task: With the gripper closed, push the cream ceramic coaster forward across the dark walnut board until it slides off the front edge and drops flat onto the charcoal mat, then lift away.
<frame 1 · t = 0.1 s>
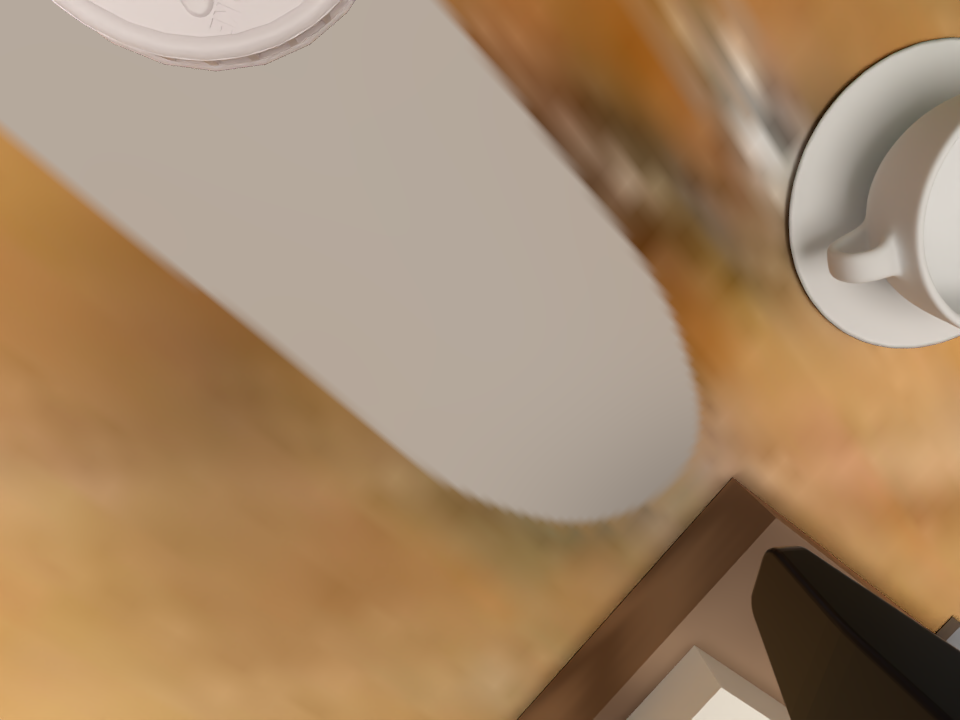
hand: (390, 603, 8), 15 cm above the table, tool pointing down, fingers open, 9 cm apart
teacup: (917, 200, 25), on the table
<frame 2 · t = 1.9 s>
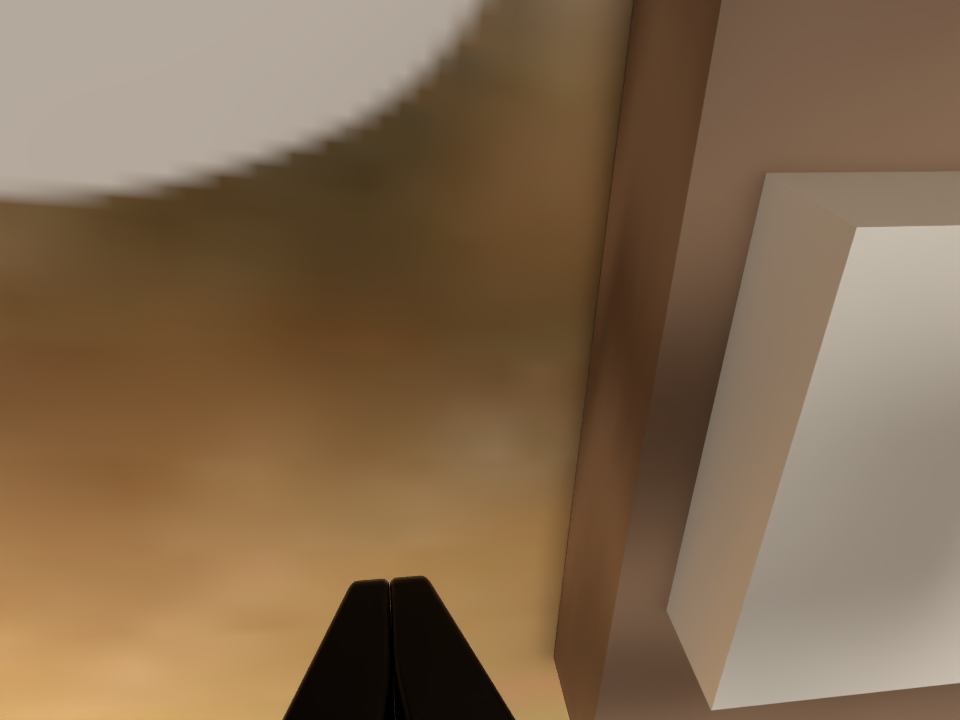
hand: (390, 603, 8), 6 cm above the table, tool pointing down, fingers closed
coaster: (942, 416, 12), point 3 cm above the table, touching walnut board
walnut board: (886, 328, 15), on the table
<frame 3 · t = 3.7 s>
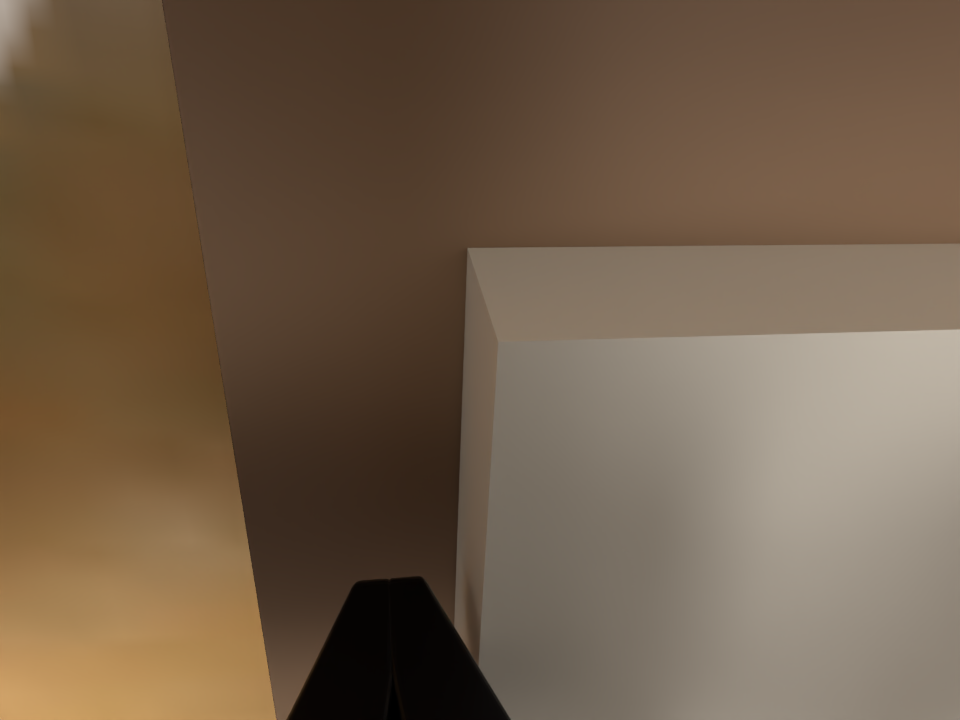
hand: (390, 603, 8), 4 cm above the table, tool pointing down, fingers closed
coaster: (752, 525, 10), point 3 cm above the table, touching walnut board
walnut board: (642, 398, 12), on the table
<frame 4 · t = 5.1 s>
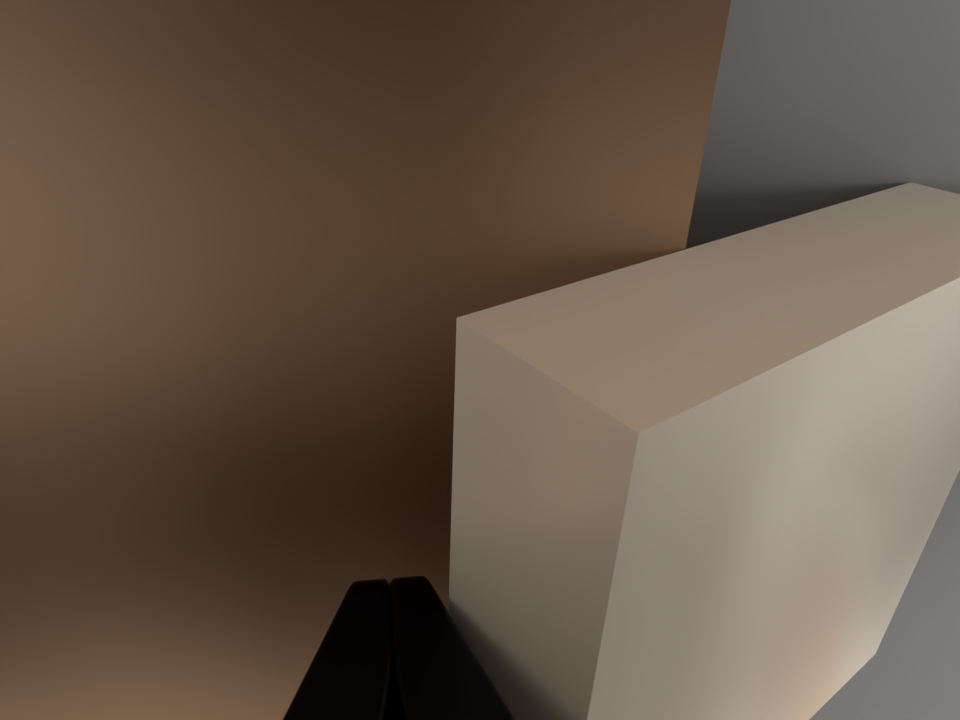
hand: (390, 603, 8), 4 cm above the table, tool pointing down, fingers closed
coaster: (681, 505, 10), point 3 cm above the table, tilted 30°, touching charcoal mat, gripper, walnut board
charcoal mat: (932, 384, 13), on the table
walnut board: (202, 417, 11), on the table
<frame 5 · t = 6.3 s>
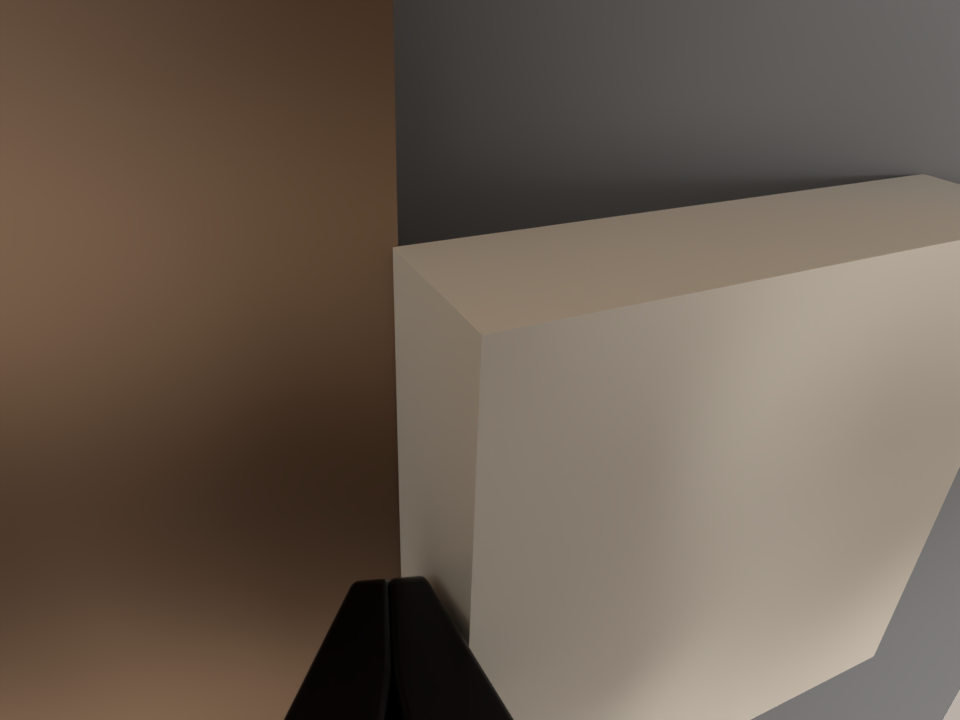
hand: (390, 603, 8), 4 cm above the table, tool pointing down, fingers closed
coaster: (654, 467, 11), point 2 cm above the table, tilted 18°, touching charcoal mat, gripper
charcoal mat: (773, 391, 13), on the table
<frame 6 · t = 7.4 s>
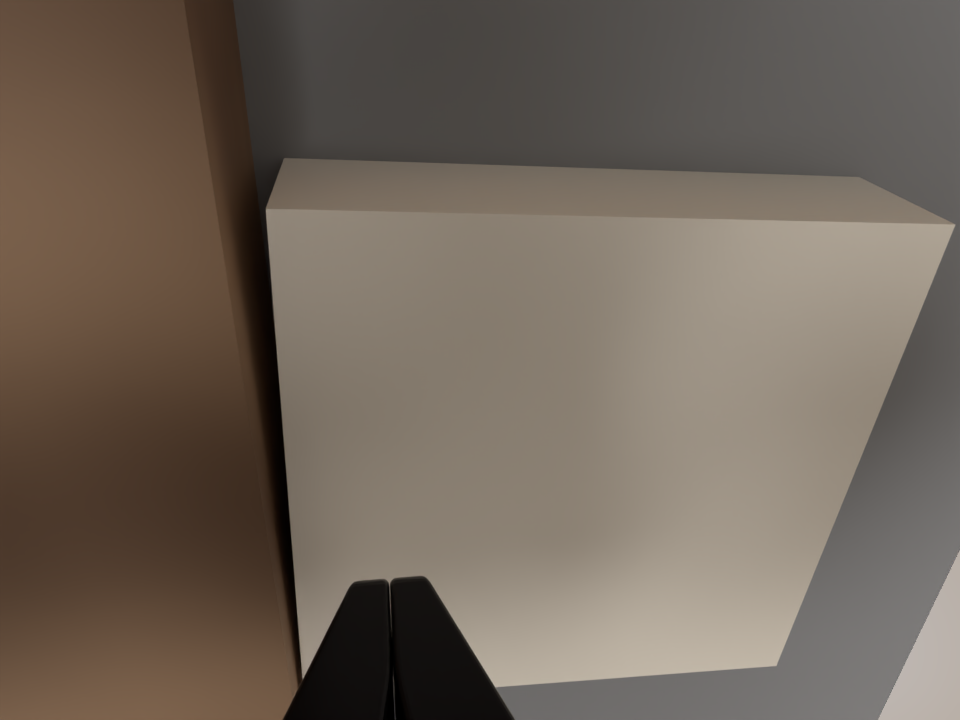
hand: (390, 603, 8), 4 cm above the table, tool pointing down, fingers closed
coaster: (553, 414, 12), resting on charcoal mat
charcoal mat: (677, 388, 13), on the table
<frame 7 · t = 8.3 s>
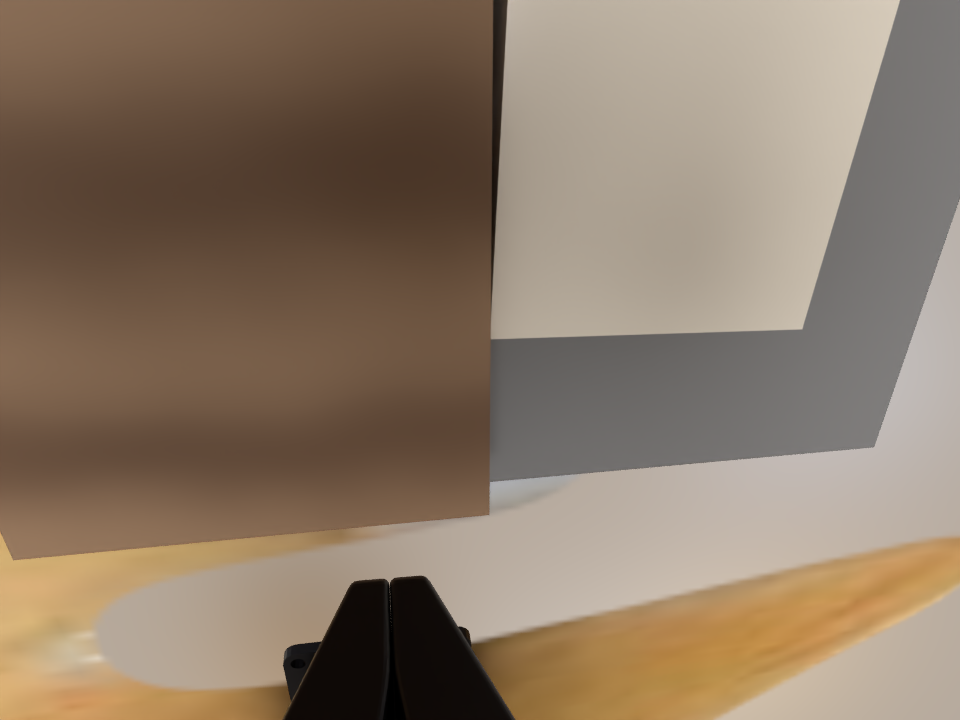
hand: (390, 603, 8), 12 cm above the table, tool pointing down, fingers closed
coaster: (649, 148, 18), resting on charcoal mat
charcoal mat: (730, 138, 18), on the table
walnut board: (215, 157, 17), on the table
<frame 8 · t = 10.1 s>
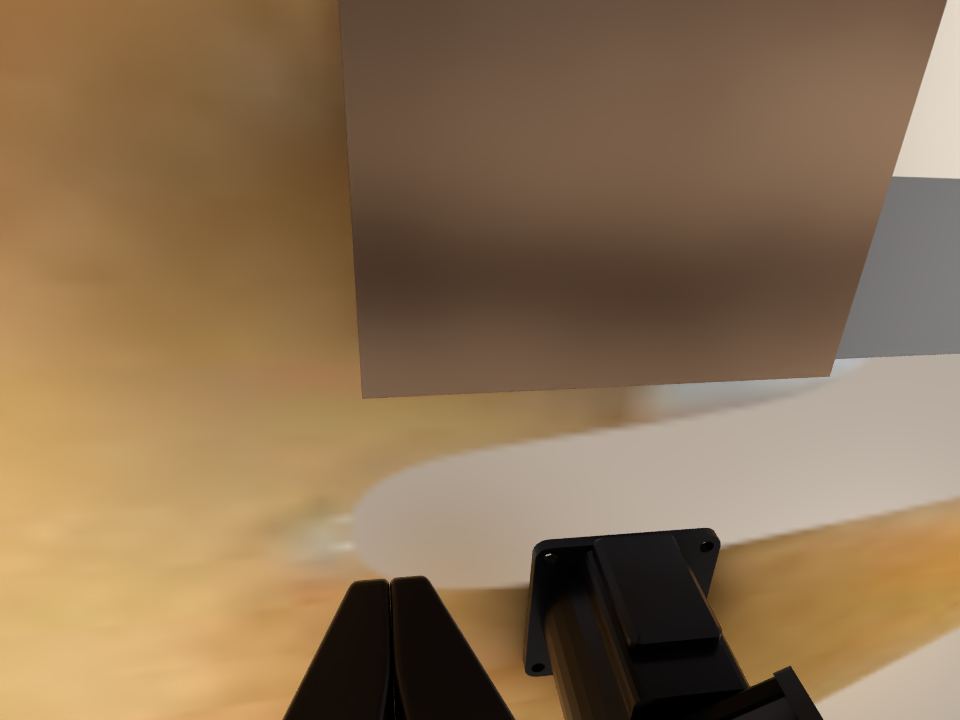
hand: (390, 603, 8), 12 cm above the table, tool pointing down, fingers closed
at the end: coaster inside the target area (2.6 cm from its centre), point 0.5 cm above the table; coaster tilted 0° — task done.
